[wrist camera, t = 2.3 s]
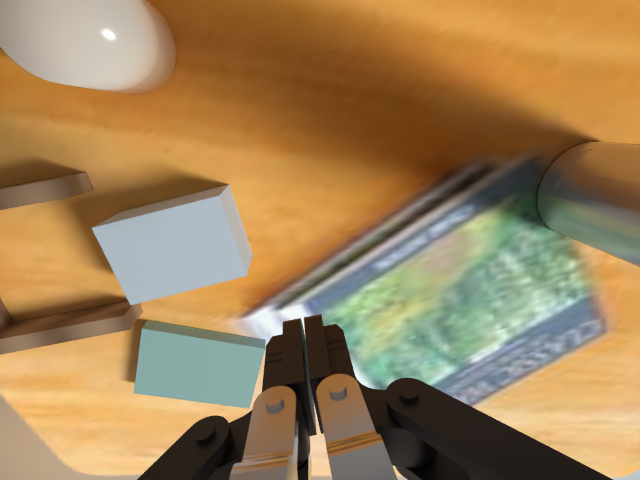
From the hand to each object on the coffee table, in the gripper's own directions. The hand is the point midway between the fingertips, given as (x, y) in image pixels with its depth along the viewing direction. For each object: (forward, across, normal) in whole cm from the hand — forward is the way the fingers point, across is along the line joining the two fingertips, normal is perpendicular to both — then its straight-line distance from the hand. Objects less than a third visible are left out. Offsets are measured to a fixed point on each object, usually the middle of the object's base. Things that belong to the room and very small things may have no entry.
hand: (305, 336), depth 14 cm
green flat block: (+20, +13, +14) cm, 27 cm away
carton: (+19, +10, 0) cm, 22 cm away
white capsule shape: (+19, +10, -16) cm, 26 cm away
